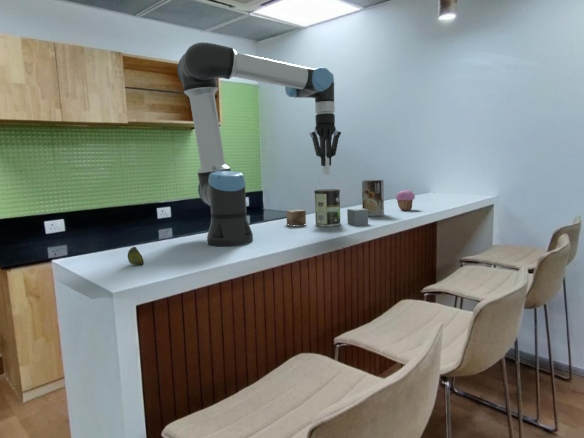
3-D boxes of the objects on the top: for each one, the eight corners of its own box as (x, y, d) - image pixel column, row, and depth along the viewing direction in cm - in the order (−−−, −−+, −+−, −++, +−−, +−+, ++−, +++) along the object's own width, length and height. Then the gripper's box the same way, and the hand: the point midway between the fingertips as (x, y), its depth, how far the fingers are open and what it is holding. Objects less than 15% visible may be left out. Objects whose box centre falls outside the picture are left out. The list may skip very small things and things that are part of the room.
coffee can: (341, 222, 174) (340, 188, 172) (339, 226, 164) (338, 190, 162) (317, 222, 176) (316, 189, 174) (313, 226, 166) (312, 191, 164)
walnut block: (292, 226, 168) (291, 211, 167) (286, 224, 174) (286, 210, 173) (305, 225, 171) (305, 210, 170) (300, 223, 176) (299, 208, 175)
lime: (134, 262, 115) (133, 244, 114) (149, 263, 114) (148, 245, 113) (123, 266, 111) (122, 248, 110) (139, 267, 110) (137, 248, 109)
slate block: (355, 225, 165) (354, 210, 164) (347, 223, 171) (347, 208, 170) (368, 224, 168) (367, 208, 167) (360, 222, 173) (360, 207, 172)
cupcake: (418, 209, 206) (418, 189, 205) (406, 211, 201) (406, 190, 200) (404, 208, 214) (404, 188, 212) (392, 210, 209) (392, 190, 207)
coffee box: (384, 214, 194) (384, 179, 192) (382, 216, 188) (381, 180, 186) (364, 214, 197) (364, 180, 195) (361, 216, 191) (361, 180, 189)
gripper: (335, 115, 170) (336, 173, 173) (305, 114, 165) (307, 174, 168) (344, 112, 163) (345, 173, 166) (313, 112, 158) (315, 175, 161)
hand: (326, 174), depth 167 cm, fingers closed
